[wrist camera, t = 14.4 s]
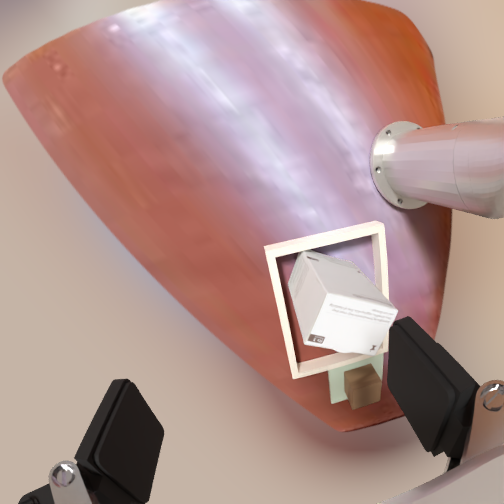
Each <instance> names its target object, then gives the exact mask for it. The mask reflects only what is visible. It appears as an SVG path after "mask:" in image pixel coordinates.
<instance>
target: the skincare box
mask: <svg viewBox="0 0 504 504" xmlns="http://www.w3.org/2000/svg"><path fill="white" fill-rule="evenodd" d="M288 287H289V290H290V294H291V297H292V301H293V304H294V308H295V312H296V315H297V319H298V322H299V326H300V330H301V333H302V337H303V341H304V344H305V345H310V346H316V347H322V348H328V349H333V350H335V351H337V352H340V353H351V352H353V353H359V354H365V355H369V356H375V355H376V353H377V351H378V349H379V348H380V346H381V344H382V342H383V340H384V338H385V336H386V334H387V332H388V330H389V328H390V326H391V325H392V323H393V321H394V319H395V317H396V315H397V313H398V310H397V309H396V308H395V307H394V306H393V305H392V304H391V302H390V301H389V300H388V299H387V298H386V297H385V296H384V295H383V294H382V293H381V292H380V290H379V289H378V288H377V287H376V286H375V285H374V284H373V283H372V282H371V281H370V280H369V279H368V278H367V277H366V276H365V275H364V274H363V272H362V271H361V270H360V269H359V268H358V267H357V266H356V265H355V264H354V263H353V262H351V261H348V260H343V259H339V258H335V257H332V256H328V255H325V254H322V253H319V252H316V251H313V250H310V249H309V250H304V251H300V252H299V253H298V256H297V259H296V262H295V265H294V268H293V271H292V273H291V276H290V279H289V282H288Z"/></svg>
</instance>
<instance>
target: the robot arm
mask: <svg viewBox="0 0 504 504" xmlns="http://www.w3.org/2000/svg"><path fill="white" fill-rule="evenodd" d="M386 133H387V134H386ZM376 168H377V171H376ZM370 169H371V174H372V178H373V181H374V183H375V185H376V187H377V189H378V191H379V192H380V193H381V195H382V196H383V197H384V198H385V199H386V200H387V201H388V202H390V203H391V204H393V205H395V206H397V207H400V208H404V209H416V208H420V207H422V206H424V205H426V204H427V203H432V204H436V205H440V206H444V207H448V208H452V209H456V210H460V211H464V212H467V213H472V214H475V215H479V216H482V217H486V218H491V219H499V218H503V217H504V117H498V118H491V119H484V120H475V121H469V122H461V123H454V124H446V125H440V126H434V127H427V128H422V127H420V126H419V125H417V124H415V123H412V122H408V121H399V122H394V123H391V124H389V125H387V126H385V127H384V128H383V129H382V130H381V131H380V132H379V133H378V134H377V136H376V137H375V139H374V141H373V144H372V147H371V152H370ZM387 383H388V387H389V389H390V391H391V393H392V394H393V396H394V398H395V399H396V401H397V402H398V404H399V406H400V408H401V409H402V411H403V413H404V414H405V416H406V418H407V419H408V421H409V423H410V424H411V426H412V428H413V430H414V431H415V433H416V435H417V436H418V438H419V440H420V442H421V443H422V445H423V447H424V449H425V450H426V451H427V452H430V451H431V452H432V454H433V456H434V457H435V456H436V455H438V454H440V453H442V452H445V454H446V455H447V457H448V461H447V464H446V468H445V471H444V474H442V475H440V476H438V477H437V478H435V479H433V480H431V481H429V482H427V483H425V484H423V485H420V486H418V487H416V488H414V489H412V490H409V491H407V492H405V493H402V494H400V495H398V496H395V497H393V498H390V499H388V500H385V501H383V502H380V503H377V504H504V381H501V380H492V381H489V382H486V383H484V384H483V385H482V386H479V385H478V383H477V382H476V381H475V380H474V379H473V378H472V377H471V376H470V375H469V374H468V373H467V372H466V371H465V369H464V368H463V367H462V366H461V365H460V364H459V363H458V362H457V361H456V360H455V359H454V358H453V357H452V356H451V355H450V354H449V353H448V352H447V351H446V350H445V349H444V348H443V347H442V346H441V345H440V344H439V343H436V342H435V341H434V340H433V339H432V338H431V337H430V336H429V335H428V334H427V333H426V332H425V331H424V330H423V329H422V328H421V327H420V326H419V325H418V324H417V323H416V322H415V321H414V320H413V319H412V318H411V317H409V316H407V317H405V318H402V319H399V320H397V321H395V322H394V323H393V326H392V327H390V329H389V359H388V376H387ZM163 437H164V429H163V427H162V425H161V424H160V422H159V421H158V420H157V418H156V416H155V415H154V413H153V412H152V411H151V409H150V407H149V406H148V404H147V403H146V401H145V400H144V398H143V397H142V395H141V393H140V392H139V390H138V389H137V387H136V385H135V384H134V383H133V382H131V381H130V380H128V379H117V380H113V381H112V383H111V385H110V387H109V389H108V390H107V393H106V394H105V396H104V398H103V400H102V402H101V404H100V406H99V408H98V410H97V412H96V414H95V416H94V418H93V420H92V422H91V424H90V426H89V428H88V430H87V432H86V434H85V436H84V438H83V440H82V442H81V444H80V446H79V448H78V451H77V453H76V455H75V457H74V458H75V459H76V460H77V461H78V462H77V464H74V463H73V462H71V461H62V462H59V463H58V464H56V465H55V466H54V467H53V468H52V469H51V471H50V474H49V484H47V485H45V486H43V487H41V488H39V489H36V490H34V491H32V492H30V493H28V494H26V495H24V496H23V497H22V498H21V499H20V501H19V503H18V504H145V503H147V502H148V501H149V498H150V493H151V489H152V483H153V479H154V475H155V471H156V466H157V462H158V458H159V453H160V449H161V445H162V441H163Z"/></svg>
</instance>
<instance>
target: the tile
mask: <svg viewBox="0 0 504 504" xmlns="http://www.w3.org/2000/svg"><path fill="white" fill-rule="evenodd" d="M383 354H384V353H382V354H379V355H376V356H373V357H370V358H367V359H364V360H361V361H358V362H355V363H351V364H348V365H345V366H342V367H338V368H335V369H331V370H328V379H329V389H330V401H331V404H333V403H336V402H340V401H343V400H346V399H348V398H347V396H346V394H345V391H344V371H348V370H351V369H354V368H358V367H361V366H364V365H367V364H370V363H371V364H372V366H373V367H374V369H375V371H376V372H377V374H378V376H379V377H380V379H381V380H382V373H383ZM381 387H382V386H381Z"/></svg>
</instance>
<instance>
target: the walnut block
mask: <svg viewBox="0 0 504 504" xmlns="http://www.w3.org/2000/svg"><path fill="white" fill-rule="evenodd" d="M381 386H382V380H381V379H380V377H379V376H378V374H377V372H376V371H375V369H374V367H373V366H372V364H371V363H370V364H367V365H364V366H361V367H358V368H354V369H351V370H348V371H344V391H345V394H346V396H347V398H348V401H349V403H350V405H351V408H352V410H354V409H357V408H360V407H364V406H366V405H369V404H372V403H375V402H378V401H380V395H381Z"/></svg>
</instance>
